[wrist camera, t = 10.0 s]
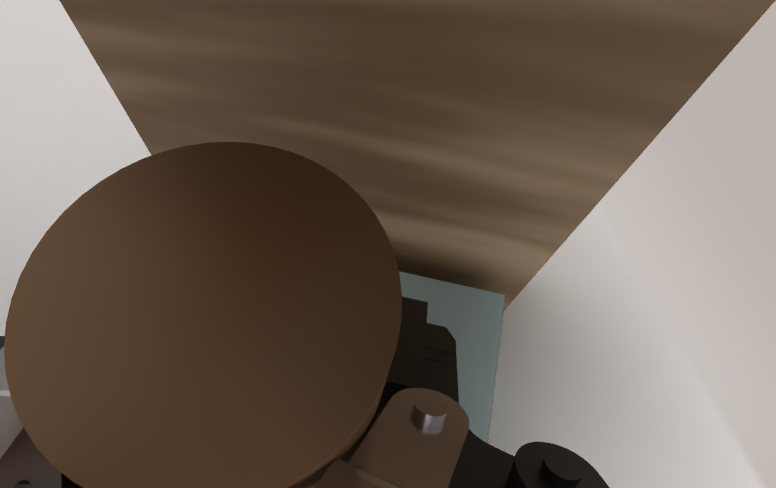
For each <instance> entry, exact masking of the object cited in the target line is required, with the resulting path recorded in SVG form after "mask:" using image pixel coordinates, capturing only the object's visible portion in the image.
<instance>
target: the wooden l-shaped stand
mask: <svg viewBox="0 0 776 488" xmlns="http://www.w3.org/2000/svg"><path fill="white" fill-rule="evenodd" d="M774 1H775V0H60V2H61V3H62V5H63V7H64V8H65V10H66V12H67V13H68V15H69V17H70V19H71V20H72V22H73V24H74V25H75V27H76V29H77V30H78V32H79V34H80V35H81V37H82V39H83V40H84V42H85V44H86V45H87V47H88V49H89V51H90V52H91V54H92V56H93V57H94V59H95V61H96V62H97V64H98V66H99V67H100V69H101V71H102V72H103V74H104V76H105V78H106V79H107V81H108V83H109V84H110V86H111V88H112V89H113V91H114V93H115V94H116V96H117V98H118V99H119V101H120V103H121V104H122V106H123V108H124V110H125V111H126V113H127V115H128V116H129V118H130V120H131V121H132V123H133V125H134V126H135V128H136V130H137V131H138V133H139V135H140V136H141V138H142V140H143V142H144V143H145V145H146V147H147V148H148V150H149V152H150V153H151V155H155V154H158V153H161V152H164V151H167V150H171V149H175V148H179V147H183V146H188V145H195V144H202V143H209V142H244V143H255V144H261V145H267V146H272V147H276V148H280V149H283V150H287V151H290V152H293V153H296V154H298V155H301V156H303V157H305V158H308V159H310V160H312V161H314V162H316V163H318V164H320V165H321V166H323V167H325V168H327V169H328V170H330V171H332V172H333V173H334V174H336V175H337V176H338V177H340V178H341V179H342V180H344V181H345V182H346V183H348V184H349V185H350V186H351V187H352V188H353V189H354V190H355V191H356V192H357V193H358V194H359V195H360V196H361V197H362V198H363V199H364V201H365V202H366V203H367V204H368V206H369V207H370V208H371V210H372V211H373V212H374V213H375V215H376V216H377V218H378V220H379V222H380V223H381V225H382V227H383V228H384V230H385V232H386V234H387V236H388V239H389V241H390V244H391V246H392V249H393V251H394V254H395V258H396V262H397V266H398V270H399V271H400V272H404V273H409V274H413V275H418V276H422V277H427V278H431V279H436V280H440V281H445V282H449V283H454V284H458V285H463V286H467V287H472V288H476V289H481V290H485V291H490V292H494V293H499V294H503V295H505V299H504V307H503V309H506V307H507V306H508V305H509V304H510V303H511V302H512V301H513V299H514V298H515V297H516V296H517V295H518V294H519V293H520V292H521V290H522V289H523V288H524V287H525V286H526V285H527V284H528V282H529V281H530V280H531V279H532V278H533V277H534V276H535V274H536V273H537V272H538V271H539V270H540V269H541V268H542V266H543V265H544V264H545V263H546V262H547V261H548V260H549V258H550V257H551V256H552V255H553V254H554V253H555V252H556V250H557V249H558V248H559V247H560V246H561V245H562V244H563V242H564V241H565V240H566V239H567V238H568V237H569V236H570V234H571V233H572V232H573V231H574V230H575V229H576V228H577V226H578V225H579V224H580V223H581V222H582V221H583V220H584V218H585V217H586V216H587V215H588V214H589V213H590V212H591V210H592V209H593V208H594V207H595V206H596V205H597V204H598V202H599V201H600V200H601V199H602V198H603V197H604V196H605V194H606V193H607V192H608V191H609V190H610V189H611V188H612V186H613V185H614V184H615V183H616V182H617V181H618V180H619V178H620V177H621V176H622V175H623V174H624V173H625V172H626V170H627V169H628V168H629V167H630V166H631V165H632V164H633V162H634V161H635V160H636V159H637V158H638V157H639V156H640V154H641V153H642V152H643V151H644V150H645V149H646V148H647V146H648V145H649V144H650V143H651V142H652V141H653V140H654V138H655V137H656V136H657V135H658V134H659V133H660V131H661V130H662V129H663V128H664V127H665V126H666V125H667V124H668V122H669V121H670V120H671V119H672V118H673V117H674V116H675V114H676V113H677V112H678V111H679V110H680V109H681V108H682V106H683V105H684V104H685V103H686V102H687V101H688V100H689V98H690V97H691V96H692V95H693V94H694V93H695V92H696V90H697V89H698V88H699V87H700V86H701V85H702V84H703V82H704V81H705V80H706V79H707V78H708V77H709V76H710V75H711V73H712V72H713V71H714V70H715V69H716V68H717V67H718V65H719V64H720V63H721V62H722V61H723V60H724V58H725V57H726V56H727V55H728V54H729V53H730V52H731V51H732V49H733V48H734V47H735V46H736V45H737V44H738V43H739V41H740V40H741V39H742V38H743V37H744V36H745V34H746V33H747V32H748V31H749V30H750V29H751V28H752V27H753V25H754V24H755V23H756V22H757V21H758V19H760V17H761V16H762V15H763V14H764V13H765V12H766V11H767V9H768V8H769V7H770V6H771V5H772V3H774Z"/></svg>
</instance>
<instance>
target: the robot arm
mask: <svg viewBox="0 0 776 488" xmlns="http://www.w3.org/2000/svg"><path fill="white" fill-rule="evenodd" d="M427 309H428V302H426V301H421V300H417V299H412V298H408V297H403V296H402V318H401V326H400V332H399V338H398V344H397V347H396V350H395V354H394V357H393V360H392V364H391V367H390V370H389V373H388V376H387V380H386V383H385V386H384V389H383V392H382V395H381V398H380V402H379V405H378V408H377V411H376V414H375V417H374V419H373V421H372V424H371V426H370V429H369V432H368V434H367V435H366V437H365V438H364V440H363V441H362V443H361V444H360V446H359V448H358V449H357V451H356V452H355V454H354V455H353V457H352V458H351V460H350V461H349V463H348V462H346V461H343V460H341V459H336V460H335V461H334V462H333V463H332V464H331V465H330V467H329V468H328V469H327V471H326V472H325V474H324V475H323V476H322V478H321V479H320V481H319V482H318V484H317V485H316V486H315V488H609V487H608V485H607V484H606V483H605V481H604V480H603V479H602V477H601V476H600V475H599V473H598V472H597V471H596V470H595V469H594V468H593V467H592V466H591V465H590V464H589V463H588V462H587V461H586V460H584V459H583V458H582V457H580V456H579V455H577V454H575V453H574V452H572V451H570V450H568V449H566V448H564V447H561V446H558V445H555V444H551V443H546V442H531V443H528V444H525V445H523V446H522V447H520V448H519V449H518V451H517V453H516V455H515V457H514V456H512V455H510V454H508V453H506V452H504V451H501V450H499V449H497V448H495V447H493V446H491V445H489V444H487V443H486V442H484V441H483V440H481V439H480V438H478V437H477V436H476V435H475V434H474V433H473V432H472V431H471V430H470V429H469V418H468V415H467V414H466V412H465V410H464V409H463V408H462V407H461V406H460V405H459V395H458V375H457V356H456V340H455V339H454V337H453V336H452V335H451V333H450V332H449V330H448V329H447V328H446V327H443V326H439V325H434V324H430V323H427ZM4 342H5V336H0V488H83V487H81V486H80V485H78V484H76V483H74V482H73V481H72V480H70V479H69V478H68V477H67V476H65V475H64V474H63V473H62V472H60V471H59V470H58V469H57V468H55V467H54V466H53V465H52V464H51V463H50V462H49V461H48V460H47V459H46V457H45V456H44V455H43V454H42V453H41V452H40V451H39V450H38V448H37V447H36V446H35V445H34V443H33V442H32V440H31V438H30V437H29V435H28V434H27V432H26V430H25V429H24V427H23V426H22V424H21V422H20V419H19V417H18V414H17V412H16V410H15V407H14V405H13V402H12V400H11V396H10V391H9V387H8V383H7V378H6V373H5V357H4Z"/></svg>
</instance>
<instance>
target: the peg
mask: <svg viewBox="0 0 776 488" xmlns="http://www.w3.org/2000/svg"><path fill="white" fill-rule="evenodd" d="M401 318H402V291H401V282H400V274H399V270H398V266H397V262H396V258H395V254H394V251H393V249H392V246H391V244H390V241H389V239H388V236H387V234H386V232H385V230H384V228H383V227H382V225H381V223H380V222H379V220H378V218H377V216H376V215H375V213H374V212H373V211H372V210H371V208H370V207H369V206H368V204H367V203H366V202H365V201H364V199H363V198H362V197H361V196H360V195H359V194H358V193H357V192H356V191H355V190H354V189H353V188H352V187H351V186H350V185H349V184H348V183H346V182H345V181H344V180H342V179H341V178H340V177H338V176H337V175H336V174H334V173H333V172H332V171H330V170H328V169H327V168H325V167H323V166H321V165H320V164H318V163H316V162H314V161H312V160H310V159H308V158H305V157H303V156H301V155H298V154H296V153H293V152H290V151H287V150H283V149H280V148H276V147H272V146H267V145H261V144H255V143H244V142H209V143H202V144H195V145H188V146H183V147H179V148H175V149H171V150H167V151H164V152H161V153H158V154H155V155H152V156H149V157H147V158H144V159H141V160H139V161H137V162H135V163H133V164H131V165H129V166H127V167H124V168H122V169H120V170H119V171H117V172H115V173H114V174H112V175H111V176H109V177H107V178H106V179H104V180H102V181H101V182H99V183H98V184H97V185H95V186H94V187H93V188H91V189H90V190H89V191H87V192H86V193H85V194H83V195H82V196H81V197H80V198H79V199H77V200H76V201H75V202H74V203H73V204H72V205H71V206H70V207H69V208H68V209H67V210H66V211H64V212H63V213H62V215H61V216H60V217H59V218H58V219H57V220H56V222H55V223H54V224H53V225H52V226H51V227H50V228H49V230H48V231H47V232H46V233H45V235H44V236H43V238H42V239H41V241H40V242H39V244H38V245H37V247H36V248H35V249H34V251H33V252H32V254H31V256H30V258H29V260H28V262H27V264H26V266H25V268H24V269H23V271H22V273H21V275H20V278H19V281H18V283H17V286H16V289H15V291H14V294H13V297H12V300H11V304H10V309H9V313H8V317H7V322H6V331H5V342H4V357H5V373H6V378H7V383H8V387H9V391H10V396H11V400H12V402H13V405H14V407H15V410H16V412H17V414H18V417H19V419H20V422H21V424H22V426H23V427H24V429H25V430H26V432H27V434H28V435H29V437H30V438H31V440H32V442H33V443H34V445H35V446H36V447H37V448H38V450H39V451H40V452H41V453H42V454H43V455H44V456H45V457H46V459H47V460H48V461H49V462H50V463H51V464H52V465H53V466H54V467H55V468H57V469H58V470H59V471H60V472H62V473H63V474H64V475H65V476H67V477H68V478H69V479H70V480H72V481H73V482H74V483H76V484H78V485H80V486H81V487H83V488H315V486H316V485H317V484H318V482H319V481H320V479H321V478H322V476H323V475H324V474H325V472H326V471H327V469H328V468H329V467H330V465H331V464H332V463H333V462H334V461H335V460H336V459H341V460H343V461H346V462H348V463H349V461H350V460H351V458H352V457H353V455H354V454H355V452H356V451H357V449H358V448H359V446H360V444H361V443H362V441H363V440H364V438H365V437H366V435H367V434H368V432H369V429H370V426H371V424H372V421H373V419H374V417H375V414H376V411H377V408H378V405H379V402H380V398H381V395H382V392H383V389H384V386H385V383H386V380H387V376H388V373H389V370H390V367H391V364H392V360H393V357H394V354H395V350H396V347H397V344H398V338H399V332H400V326H401Z"/></svg>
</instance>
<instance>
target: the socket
mask: <svg viewBox="0 0 776 488" xmlns="http://www.w3.org/2000/svg"><path fill="white" fill-rule="evenodd" d="M399 274H400V282H401V291H402V296H403V297H408V298H412V299H417V300H421V301H426V302H428V309H427V323H430V324H434V325H439V326H443V327H446V328H447V329H448V330H449V332H450V333H451V335H452V336H453V337H454V339H455V340H456V356H457V375H458V395H459V405H460V406H461V407H462V408H463V409H464V410H465V412H466V414H467V415H468V418H469V429H470V430H471V431H472V432H473V433H474V434H475V435H476V436H477V437H478V438H480V439H481V440H483V441H484V442H486V443H487V444H488V435H489V427H490V418H491V410H492V401H493V393H494V384H495V376H496V367H497V359H498V350H499V342H500V333H501V325H502V316H503V307H504V299H505V295H503V294H499V293H494V292H490V291H485V290H481V289H476V288H472V287H467V286H463V285H458V284H454V283H449V282H445V281H440V280H436V279H431V278H427V277H422V276H418V275H413V274H409V273H404V272H400V271H399Z"/></svg>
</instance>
